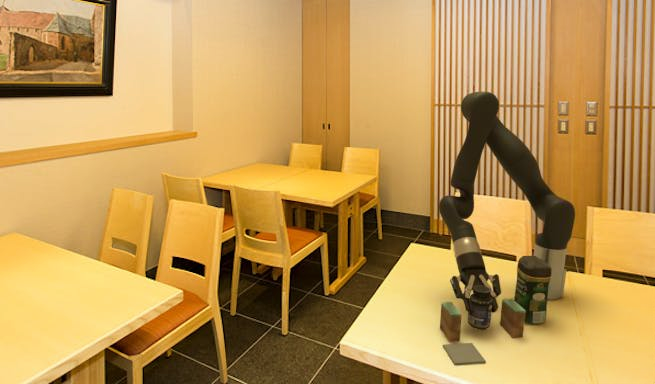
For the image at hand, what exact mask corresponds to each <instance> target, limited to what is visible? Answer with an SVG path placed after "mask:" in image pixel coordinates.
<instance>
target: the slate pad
mask: <svg viewBox="0 0 655 384" xmlns="http://www.w3.org/2000/svg"><path fill="white" fill-rule="evenodd" d="M442 348H443V349H444V351H445V353H447V355H448V357H449V359H450V360H451V363H453V365H454V366H463V365H476V364H477V365H481V364H486V363H487V361H486V359H485V358H484V357H483V355H482V354H481V353H480V352H479V350H478V349H477V348H476V346H475V345H474V344H473V343H472V342H465V343H464V342H463V343H447V344H446V343H445V344H442Z"/></svg>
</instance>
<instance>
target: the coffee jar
mask: <svg viewBox="0 0 655 384" xmlns="http://www.w3.org/2000/svg"><path fill="white" fill-rule="evenodd" d="M551 271H552V269H551V267H550V266H549V265H548V264H547V263H546V262H544V261H543V260H541V259H539V258H538V257H536V256H534V255H522V256H521V257H520V258H519V259H518V261H517V267H516V283H515V291H514V298H513V300H514V301H515V302H517V303H518V304H519V305H520V306H521V307H522V308H523V309H524V310H525V311H526V314H525V322H524V324H525V323H526V324H530V325H541V324H544V323H545V322H546V317H547V309H548V308H547V306H548V299H547V297H548V287H549V282H550V279H551Z"/></svg>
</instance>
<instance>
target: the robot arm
mask: <svg viewBox="0 0 655 384" xmlns="http://www.w3.org/2000/svg"><path fill="white" fill-rule="evenodd" d="M460 110H461V113H462V116H463V118H465V120H466V121H467V123H468V128H467V133H466V136H465V139H464V142H463V144H462V146H461V148H460V149H459V152H458V154H457V156H456V159H455V161H454V166H453V169H452V174H451V177H450V186H451V187H452V188H454V189H456V190H458V191H459V196H457V195H444V196H442V198H441V199H440V201H439V204H438V209H439V210H438V211H439V214H440V216H441V218H442V220H443V222H444V224H445V225H446V227H447V230H448V231H449V232H450V237H451V241H452V246H453V254H454V258H455V262H456V265H457V269H458V272H459V275H458V276H456V275H453V276H452V277H451V278H450V279H449V282H450V284H451V288H452V290H453V292H454V296H455V298H456V299H457V300H462V301H463V305H464V308H465V312H467V314H468V313H469V314H472V313H473V307H472V302H471V298H470V296H471V292H472V291H473V287H474V286H476V285H482V286H486V287H488V288H490V289H491V295H490V297H491V298H492V300H493V303H492V313H491V314H493V313H494V314H495V313H497V311H498V309H499V306H498V301H497V298H498V296H500V295H502V288H501V283H500V275H499V274H493V275H491V274H489V273H488V272H487V269H486V264H485V261H484V258H483V254H482V250H481V246H480V244H479V242H478V239H477V234H476V231H475V227H474V225H473V224H472V223H471V222H470V221H467V219H469V218H471V216H472V214H473V213H474V210H475V194H474V193H475V191H474V186H475V181H476V177H477V172H478V171H479V170H478V168H479V165H480V161H481V157H482V154H483V151H484V148H485V145H486V144H487V147H488V148H489V150H490V151H491V152H492V154H493V156H494V157H495V158H496V160H497V161H498V163H499V165H500V166H501V168H503V170H504V171H505V173H506V174H507V175H508V176H509V178H510V179H511V180H512V181H513V182H514V184H515V185H516V186H517V187H518V188H519V189H520V191H521V192H522V193H523V194H524V196H525V197H526V199H527V200H528V202H529V204H530V206H531V208H532V210H533V211H534V213H535V215H536V216H537V218H538V219H539V220H540V221H543V228H542V232H540V233H537V234H536V235H535V240H534V241H535V242H534V249H533V256H536V257H538V258H539V259H541V260H543V261H544V262H546V263H547V264H548V265H549V266H550V267H551V269H552V271H551V279H550V282H549V287H548V297H547V301H548V300H551V301H553V300H554V301H555V300H558V299H560V298H563V297H564V291H565V284H566V277H567V269H566V268H565V263H566V257H567V256H566V255H567V248H568V243H569V242H570V241H571V238H572V235H573V230H574V226H575V225H574V224H575V218H576V209H575V207H574V204H572V203H571V202H570V201H569V200H567V199H564V198H562V197H560V196H558V195H557V194H556V193H555V192H554V191H553V190H552V189H551V188H550V187H549V186H548V184H547V183H546V182H545V180H544V179H543V177H542V173H541V170H540V165H539V163H538V161H537V159H536V157H535V156H534V155H533V153H532V151H531V150H530V149H529V148H528V146H527V145H526V144H525V143H524V142H523V140H522V139H520V138H519V136H518V135H516V134H515V133H514V132H512V131H511V130H510V129H509V128H507V127H506V125H504V123H502V121H501V120H500V118H499V117H498V113H499V110H500V101H499V99H498V97H497V96H496V95H495V94H494V93H493V92H490V91H474V92H470V93H468V94H467V95H465V96H464V97H463V98H462V101H461V104H460ZM488 281H490V282H488ZM460 283H461V284H462V285H464V288H463V291H462V289H461V285H460ZM489 283H491V285H490V284H489ZM559 297H560V298H559Z"/></svg>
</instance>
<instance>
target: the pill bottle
mask: <svg viewBox="0 0 655 384" xmlns="http://www.w3.org/2000/svg"><path fill="white" fill-rule="evenodd" d="M491 289H492V288H491ZM491 289H490V288H488V287H486V286H482V285H476V286H474V287H473V290H472V294H471V293H470V297H469V298H471V302H472V307H473V313H472V314H469V313H468V312H467V324H468V325H469V326H470V327H471V328H473V329H476V330H479V331H480V330H481V331H485V330H488V329H489V328H490V327H491V325H492V324H491V323H492V322H491V321H492V314H493V313H492V303H493V300H492V298H491V297H490V295H491Z"/></svg>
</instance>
